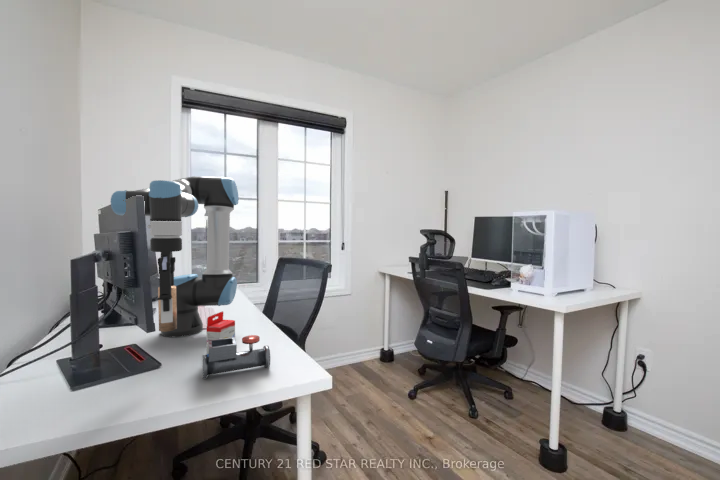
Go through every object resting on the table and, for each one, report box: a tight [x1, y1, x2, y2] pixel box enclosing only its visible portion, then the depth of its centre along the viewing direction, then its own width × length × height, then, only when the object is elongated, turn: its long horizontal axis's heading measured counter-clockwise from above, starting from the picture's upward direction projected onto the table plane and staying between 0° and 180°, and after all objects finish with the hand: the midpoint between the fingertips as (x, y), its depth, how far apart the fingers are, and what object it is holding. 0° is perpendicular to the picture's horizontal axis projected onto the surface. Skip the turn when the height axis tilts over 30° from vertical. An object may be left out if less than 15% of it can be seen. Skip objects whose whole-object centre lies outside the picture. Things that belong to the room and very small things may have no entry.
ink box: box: [206, 311, 236, 357], centre depth 105 cm, size 8×5×15 cm, turn 168°
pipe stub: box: [157, 285, 177, 333], centre depth 90 cm, size 4×4×12 cm
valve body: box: [202, 334, 271, 380], centre depth 95 cm, size 18×7×10 cm, turn 116°
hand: (167, 319), depth 90 cm, fingers closed on pipe stub, 4 cm apart
